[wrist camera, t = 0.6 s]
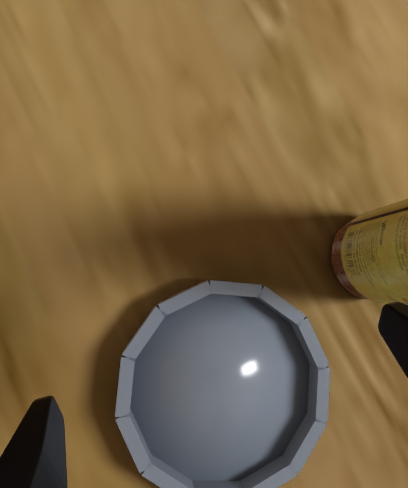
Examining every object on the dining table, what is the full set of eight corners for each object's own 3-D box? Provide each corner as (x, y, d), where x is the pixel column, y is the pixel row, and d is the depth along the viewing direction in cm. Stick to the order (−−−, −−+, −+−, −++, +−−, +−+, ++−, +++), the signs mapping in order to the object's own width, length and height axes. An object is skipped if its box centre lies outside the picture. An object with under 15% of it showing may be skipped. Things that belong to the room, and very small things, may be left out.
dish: (349, 352, 26) (364, 358, 24) (247, 528, 23) (256, 549, 22) (197, 243, 24) (202, 240, 23) (75, 417, 22) (69, 429, 20)
